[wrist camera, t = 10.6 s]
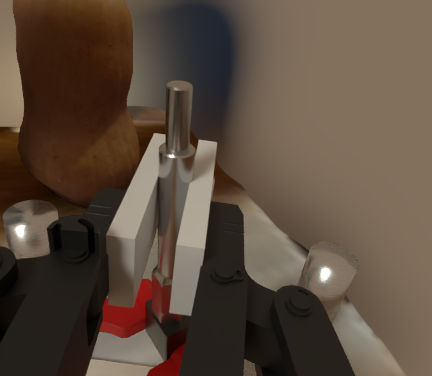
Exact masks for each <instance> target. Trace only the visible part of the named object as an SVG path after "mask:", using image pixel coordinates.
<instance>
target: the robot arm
mask: <svg viewBox="0 0 432 376" xmlns="http://www.w3.org/2000/svg"><path fill="white" fill-rule="evenodd" d="M164 142H165V135H164V134H157V133H154V135H153V137H152V139H151V141H150V143H149V146H148V148H147V150H146V152H145V154H144V156H143V158H142V160H141V162H140V165H139V167H138V169H137V171H136V173H135V175H134V177H133V179H132V181H131V184H130V186H129V188H128V190H121V189H114V188H107V187H106V188H105V189H103V190H102V191H100V192H99V193H97V194H96V195H95V196H94V198H93V200H92V201H91V203H90V206H88V208H87V210H86V212H85V213H84V215H83V216H82V215H70V216H66V217H62V218H59V219H58V220H56V221H54V222H52V223H51V224H50V225H49V226H48V227H47V234H48V241H49V248H50V253H49V254H48V255H45V256H40V257H32V258H22V259H16V256H15V255H14V253H13V251H12V250H10V249H8V248H6V247H0V376H86V373H87V370H88V367H89V363H90V360H91V357H92V354H93V350H94V347H95V344H96V340H97V337H98V334H99V330H100V327H101V324H102V320H103V305H104V302H105V300H106V297H107V295H108V305H114V306H121V307H129V308H133V307H134V304H135V300H136V297H137V294H138V290H139V287H140V284H141V280H142V277H143V274H144V270H145V267H146V264H147V260H148V257H149V254H150V250H151V247H152V244H153V240H154V237H155V234H156V230H157V227H158V171H159V146H160V145H161V144H163V143H164ZM216 149H217V142H212V141H204V140H199V142H198V147H197V152H196V156H195V163H194V177H193V180H192V182H190V184H189V188H188V193H187V198H186V202H185V207H184V211H183V216H182V221H181V225H180V230H179V235H178V239H177V244H176V252H175V262H174V271H173V281H172V291H171V300H170V310H169V313H174V314H181V315H189V316H191V318H190V323H189V328H188V332H187V337H186V342H185V347H184V352H183V357H182V362H181V367H180V372H179V376H243V370H244V359H246V360H248V361H250V362H252V363H255V369H256V373H257V376H355V374H354V372H353V370H352V367H351V365H350V363H349V361H348V359H347V356H346V354H345V352H344V350H343V348H342V345H341V343H340V341H339V339H338V337H337V334H336V332H335V330H334V328H333V326H332V323H331V321H330V319H329V317H328V315H327V312H326V310H325V308H324V306H323V304H322V302H321V301H320V299H319V298H318V297H317V296H316V295H315V294H314V293H312V292H311V291H310V290H307V289H305V288H303V287H300V286H294V285H290V286H284V287H282V288H280V289H279V290H277V292H275V291H273V290H270V289H268V288H265V287H263V286H261V285H259V284H257V283H256V282H255V281H254V280H252V279H251V278H250V276H249V275H248V274H247V272H246V270H245V265H244V235H243V234H244V226H243V225H244V219H243V213H242V212H241V210H240V208H239V207H238V205H233V204H226V203H219V202H212V201H210V200H211V192H212V183H213V175H214V166H215V158H216Z"/></svg>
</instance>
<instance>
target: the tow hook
mask: <svg viewBox="0 0 432 376" xmlns="http://www.w3.org/2000/svg"><path fill="white" fill-rule="evenodd" d="M192 91H193V86H192V85H191V84H190V83H188V82H185V81H171V82H169V83H168V84H167V85H166V130H165V142H164V143H163V144H161V145H160V146H159V171H158V264H157V266H156V267H155V268H154V269H153V271H152V282H151V281H150V280H149V279H142V280H141V284H140V287H139V290H138V294H137V297H136V300H135V304H134V307H133V308H129V307H121V306H114V305H108V298H106V300H105V302H104V305H103V320H102V324H101V327H100V330H99V332H105V333H111V334H114V335H116V336H118V337H120V338H128V337H130V336H132V335H134V334H136V333H138V332H140V331H142V330H144V329H146V332H147V333H148V335H149V337H150V338H151V340H152V342H153V343H154V345H155V347H156V348H157V350H158V352H159V353H160V355H161V357H162V358H163V360H164V362H163V363H161V364H159V365H157V366H156V367H154V368H152V369H150V370H149V372H148V374H147V376H179V372H180V367H181V362H182V357H183V352H184V347H185V342H186V337H187V332H188V328H189V323H190V318H191V316H189V315H181V314H174V313H169V310H170V300H171V291H172V281H173V271H174V262H175V252H176V244H177V239H178V235H179V230H180V225H181V221H182V216H183V211H184V207H185V202H186V198H187V193H188V188H189V184H190V182H192V180H193V177H194V163H195V148H194V147H193V145H191V144H190V143H189V142H190V125H191V108H192Z"/></svg>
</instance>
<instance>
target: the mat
mask: <svg viewBox="0 0 432 376" xmlns="http://www.w3.org/2000/svg"><path fill="white" fill-rule="evenodd" d="M152 368H154V367H149V366H142V365H134V364H126V363H119V362H111V361H103V360H96V359H91V360H90V363H89V367H88V370H87V373H86V376H147V374H148V372H149V370H150V369H152Z"/></svg>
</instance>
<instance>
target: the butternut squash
mask: <svg viewBox="0 0 432 376" xmlns="http://www.w3.org/2000/svg"><path fill="white" fill-rule="evenodd" d="M13 14H14V18H15V24H16V52H17V59H18V63H19V68H20V74H21V80H22V90H23V98H24V117H23V121H22V125H21V127H20V132H19V144H18V150H19V154H20V157H21V160H22V162H23V163H24V165H25V166H26V168H27V170H28V171H29V172H30V174H31V175H33V176H34V177H35V178H36V179H38V180H39V181H40V182H42V183H43V184H44V185H45V186H46V187H48V188H49V189H50V190H51V191H53V192H54V193H55V194H57V195H58V196H59V197H61V198H63V199H64V200H66V201H68V202H70V203H72V204H74V205H77V206H80V207H84V208H88V206H90V203H91V201H92V200H93V198H94V196H95V195H96V194H97V193H99V192H100V191H102V190H103V189H105V188H106V187H107V188H114V189H121V190H126V189H127V188H128V187H129V186H130V184H131V181H132V179H133V177H134V175H135V173H136V171H137V169H138V165H139V158H140V148H139V142H138V137H137V133H136V130H135V127H134V124H133V121H132V119H131V117H130V114H129V111H128V108H127V96H128V92H129V89H130V84H131V78H132V74H133V29H132V20H131V15H130V12H129V9H128V8H127V5H126V3H125V2H124V0H13Z"/></svg>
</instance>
